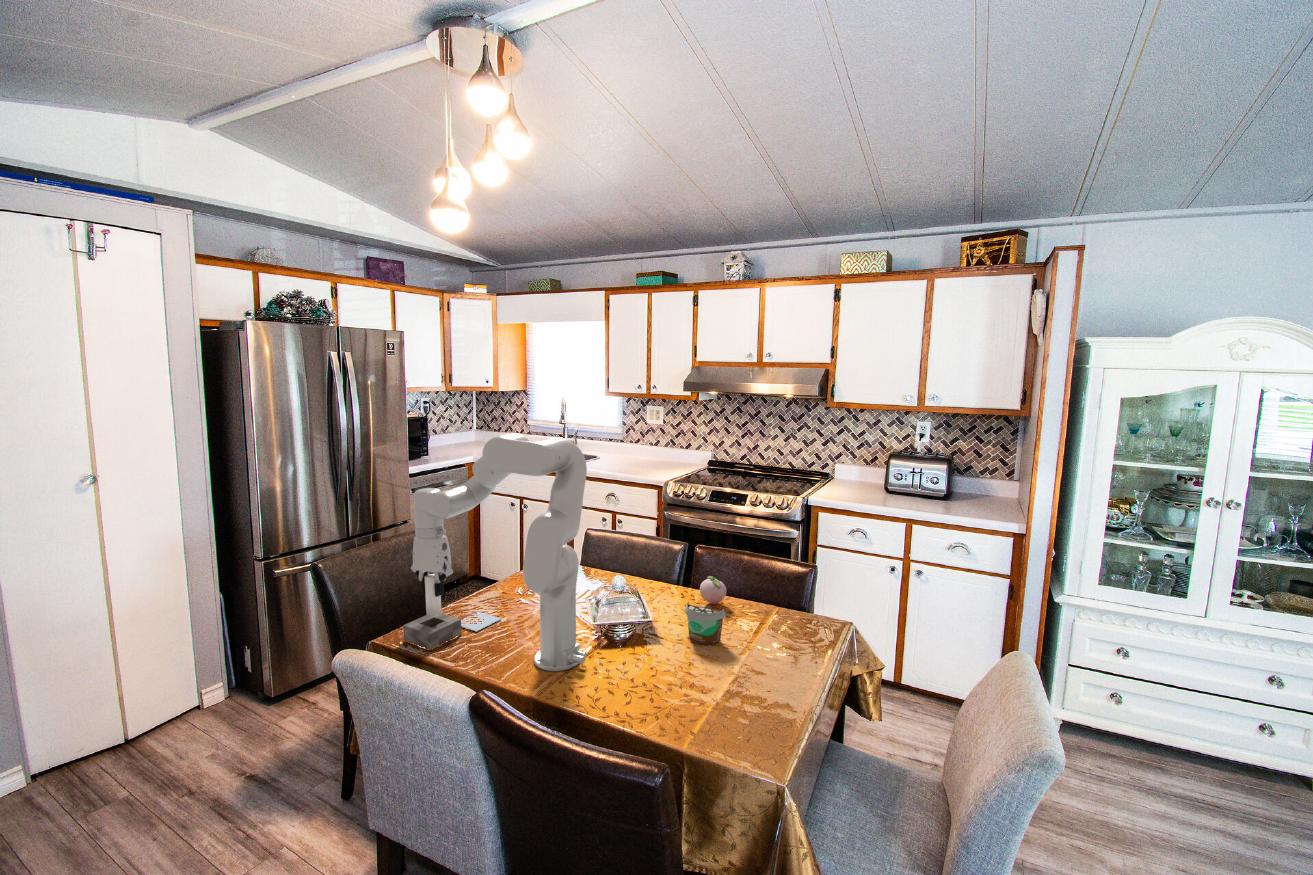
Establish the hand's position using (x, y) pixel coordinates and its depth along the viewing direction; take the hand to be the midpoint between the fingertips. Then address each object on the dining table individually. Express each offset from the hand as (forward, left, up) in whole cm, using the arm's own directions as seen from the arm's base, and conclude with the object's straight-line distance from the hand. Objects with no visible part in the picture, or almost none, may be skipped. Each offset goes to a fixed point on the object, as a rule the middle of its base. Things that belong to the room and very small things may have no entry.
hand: (433, 593), depth 159 cm
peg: (0, 0, -6) cm, 6 cm away
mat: (-3, -14, -14) cm, 20 cm away
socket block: (0, 0, -14) cm, 14 cm away
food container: (-68, -38, -14) cm, 79 cm away
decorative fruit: (-60, -64, -14) cm, 88 cm away
